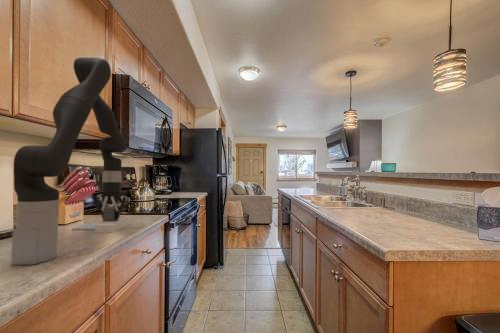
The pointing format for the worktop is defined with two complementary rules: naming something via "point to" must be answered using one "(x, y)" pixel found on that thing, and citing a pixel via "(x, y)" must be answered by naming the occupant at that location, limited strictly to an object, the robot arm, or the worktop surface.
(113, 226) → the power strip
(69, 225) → the worktop surface
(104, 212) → the charger
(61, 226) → the worktop surface
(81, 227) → the trivet
